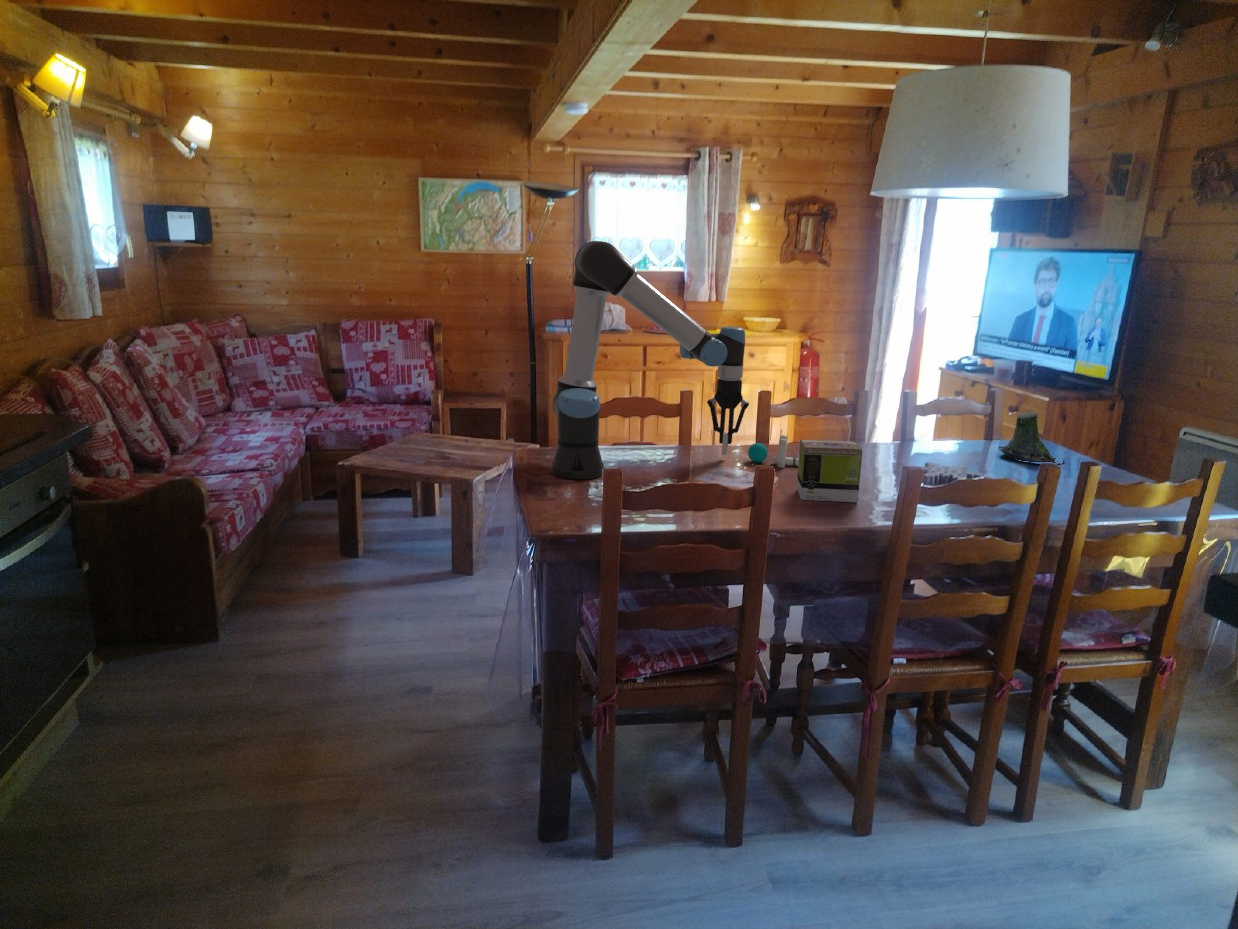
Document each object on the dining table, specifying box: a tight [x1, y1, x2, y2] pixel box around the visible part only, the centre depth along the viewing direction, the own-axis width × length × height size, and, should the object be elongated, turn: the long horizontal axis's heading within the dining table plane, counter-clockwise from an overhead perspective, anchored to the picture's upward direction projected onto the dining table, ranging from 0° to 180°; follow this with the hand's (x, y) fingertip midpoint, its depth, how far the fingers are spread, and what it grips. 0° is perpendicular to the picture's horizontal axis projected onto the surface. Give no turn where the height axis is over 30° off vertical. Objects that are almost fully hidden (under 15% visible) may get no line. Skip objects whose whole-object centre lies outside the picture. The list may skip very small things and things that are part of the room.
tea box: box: [796, 439, 863, 504], centre depth 216 cm, size 15×10×15 cm, turn 84°
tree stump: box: [998, 411, 1061, 466], centre depth 264 cm, size 18×20×18 cm
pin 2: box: [776, 438, 788, 469], centre depth 245 cm, size 2×2×8 cm
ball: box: [747, 442, 768, 463], centre depth 250 cm, size 6×6×6 cm
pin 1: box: [779, 434, 789, 453], centre depth 250 cm, size 2×2×8 cm
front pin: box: [772, 455, 799, 467], centre depth 248 cm, size 2×2×8 cm
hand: (724, 453), depth 252 cm, fingers closed
